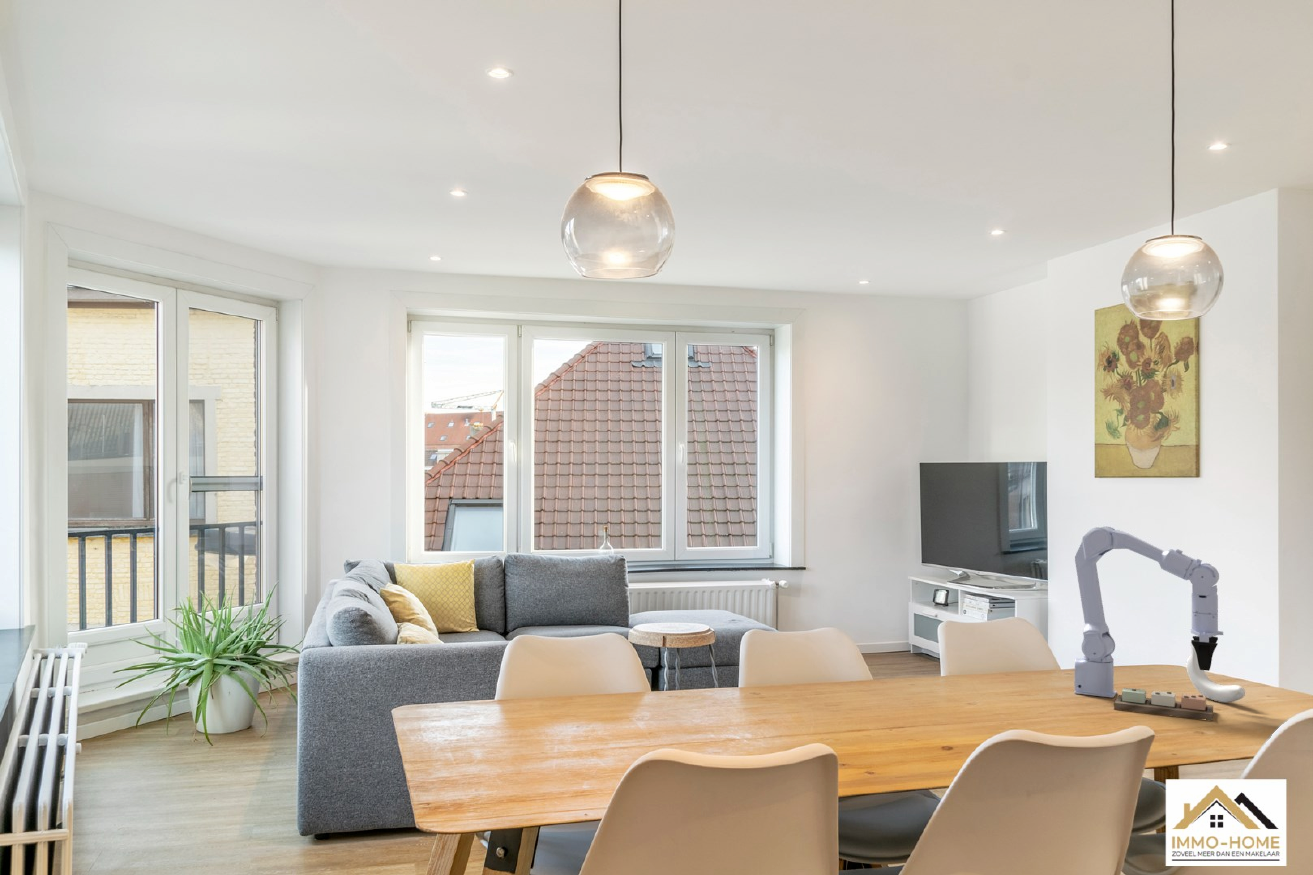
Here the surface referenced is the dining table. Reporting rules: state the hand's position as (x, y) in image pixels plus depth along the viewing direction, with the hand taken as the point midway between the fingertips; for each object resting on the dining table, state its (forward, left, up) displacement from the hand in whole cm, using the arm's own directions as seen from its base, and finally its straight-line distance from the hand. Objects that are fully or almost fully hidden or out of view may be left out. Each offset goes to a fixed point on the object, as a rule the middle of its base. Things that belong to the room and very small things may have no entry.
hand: (1204, 667), depth 244 cm
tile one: (-15, -9, -8) cm, 20 cm away
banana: (+2, +11, -10) cm, 15 cm away
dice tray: (-9, -9, -10) cm, 16 cm away
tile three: (-2, -9, -8) cm, 12 cm away
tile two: (-9, -9, -8) cm, 15 cm away
